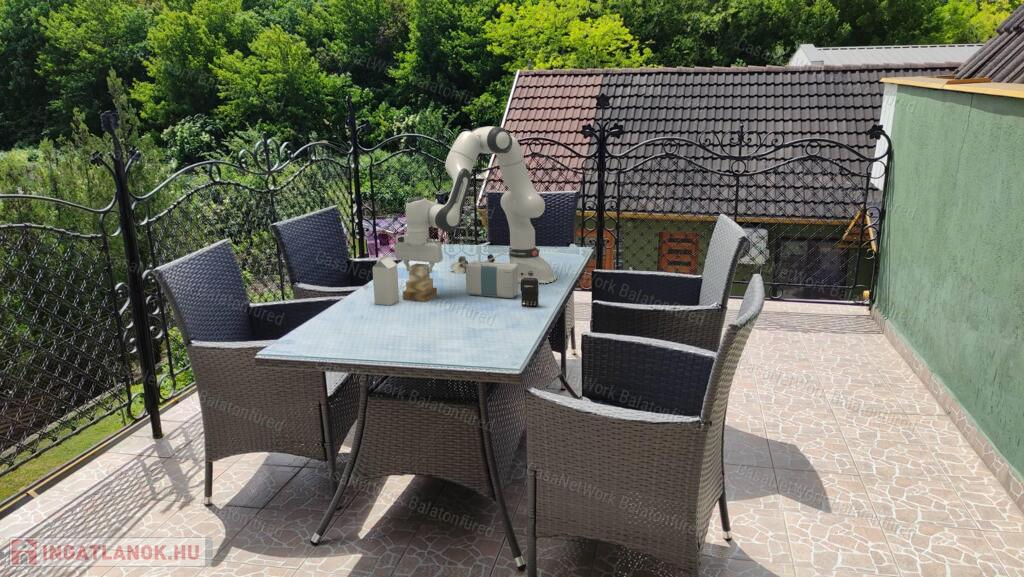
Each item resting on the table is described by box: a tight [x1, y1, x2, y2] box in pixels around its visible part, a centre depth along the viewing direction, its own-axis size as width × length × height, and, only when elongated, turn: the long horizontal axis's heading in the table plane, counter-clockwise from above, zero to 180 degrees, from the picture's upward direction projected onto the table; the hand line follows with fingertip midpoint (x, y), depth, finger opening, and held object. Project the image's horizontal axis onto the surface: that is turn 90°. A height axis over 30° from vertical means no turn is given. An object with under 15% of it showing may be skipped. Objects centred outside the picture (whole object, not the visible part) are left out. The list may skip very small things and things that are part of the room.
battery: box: [519, 277, 540, 307], centre depth 265 cm, size 7×4×11 cm, turn 76°
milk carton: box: [372, 253, 400, 306], centre depth 272 cm, size 7×7×19 cm
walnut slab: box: [402, 286, 438, 303], centre depth 280 cm, size 10×10×4 cm
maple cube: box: [408, 262, 431, 282], centre depth 278 cm, size 6×6×6 cm
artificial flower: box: [449, 253, 496, 275], centre depth 327 cm, size 9×22×10 cm, turn 120°
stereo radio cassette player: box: [465, 248, 519, 299], centre depth 281 cm, size 21×8×20 cm, turn 70°
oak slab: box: [405, 277, 434, 293], centre depth 279 cm, size 8×8×4 cm
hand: (419, 271), depth 278 cm, fingers open, 8 cm apart
